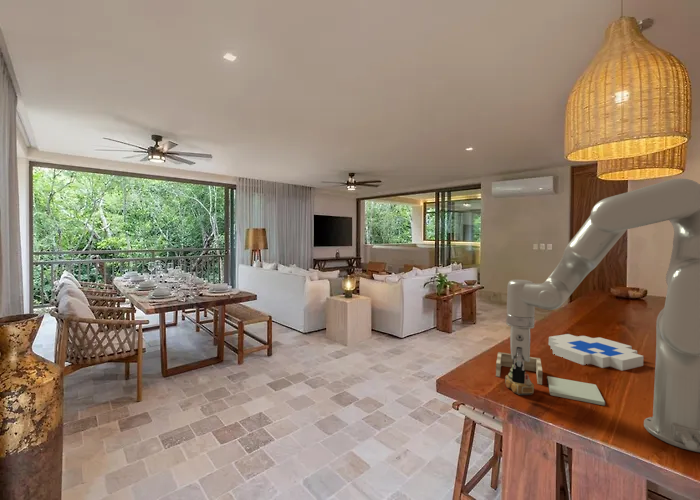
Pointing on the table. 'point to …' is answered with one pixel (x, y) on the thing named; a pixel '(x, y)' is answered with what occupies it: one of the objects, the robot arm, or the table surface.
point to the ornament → (519, 384)
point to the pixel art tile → (595, 351)
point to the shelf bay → (532, 365)
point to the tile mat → (575, 390)
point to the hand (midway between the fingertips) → (518, 376)
